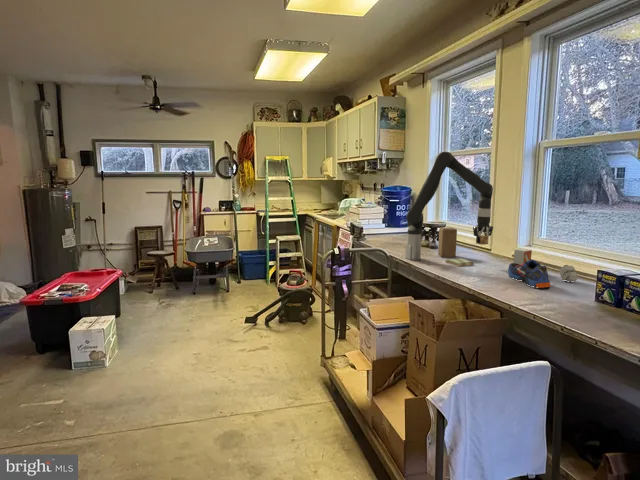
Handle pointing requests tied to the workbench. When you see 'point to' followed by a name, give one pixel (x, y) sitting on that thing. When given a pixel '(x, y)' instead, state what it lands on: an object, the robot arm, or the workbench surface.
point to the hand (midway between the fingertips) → (481, 242)
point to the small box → (522, 256)
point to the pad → (459, 262)
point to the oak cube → (483, 239)
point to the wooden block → (447, 242)
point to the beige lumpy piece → (568, 273)
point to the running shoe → (530, 273)
